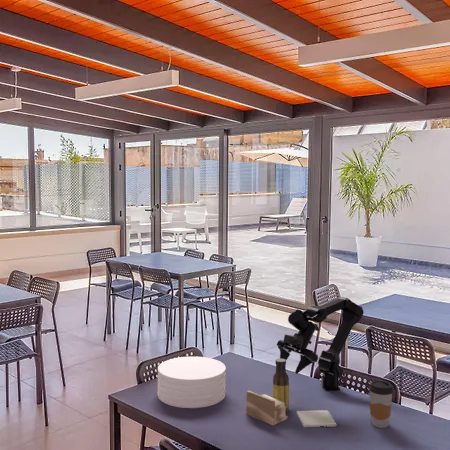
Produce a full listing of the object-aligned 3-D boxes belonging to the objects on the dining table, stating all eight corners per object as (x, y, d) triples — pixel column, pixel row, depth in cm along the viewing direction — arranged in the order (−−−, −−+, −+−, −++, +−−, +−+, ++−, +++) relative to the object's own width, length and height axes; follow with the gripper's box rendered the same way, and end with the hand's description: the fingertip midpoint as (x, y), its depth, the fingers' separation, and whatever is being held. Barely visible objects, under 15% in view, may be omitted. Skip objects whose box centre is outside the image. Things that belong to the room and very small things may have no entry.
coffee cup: (392, 421, 195) (393, 381, 194) (391, 431, 187) (392, 390, 186) (368, 417, 198) (370, 378, 197) (367, 427, 190) (368, 386, 189)
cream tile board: (327, 412, 202) (327, 410, 202) (336, 426, 190) (336, 424, 190) (296, 413, 201) (296, 410, 201) (303, 427, 189) (303, 425, 189)
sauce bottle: (284, 405, 208) (285, 356, 206) (291, 412, 202) (293, 361, 200) (269, 408, 205) (270, 358, 204) (276, 414, 200) (277, 363, 198)
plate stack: (184, 414, 199) (185, 385, 198) (144, 392, 220) (144, 365, 219) (239, 396, 217) (239, 369, 216) (197, 377, 238) (197, 352, 237)
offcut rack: (261, 407, 206) (262, 385, 205) (287, 418, 196) (288, 394, 196) (246, 414, 199) (246, 391, 199) (272, 425, 190) (273, 401, 190)
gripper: (277, 321, 219) (260, 355, 214) (310, 331, 204) (293, 368, 199) (292, 333, 224) (276, 366, 220) (326, 344, 210) (309, 379, 205)
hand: (287, 369), depth 211 cm, fingers open, 9 cm apart
